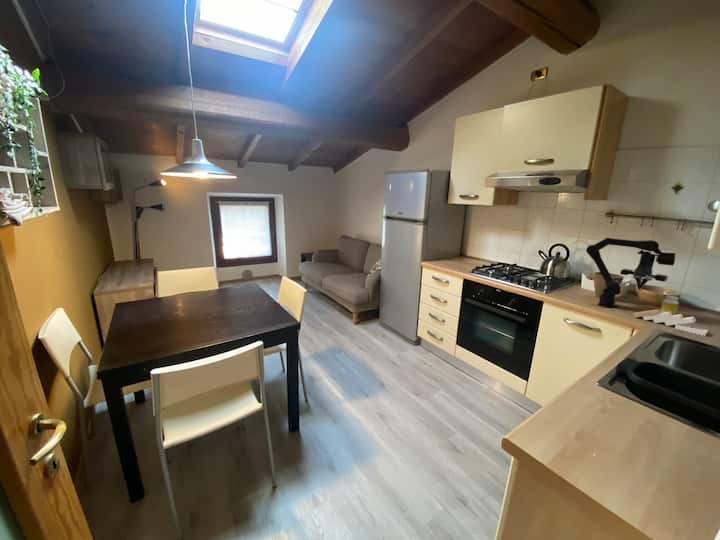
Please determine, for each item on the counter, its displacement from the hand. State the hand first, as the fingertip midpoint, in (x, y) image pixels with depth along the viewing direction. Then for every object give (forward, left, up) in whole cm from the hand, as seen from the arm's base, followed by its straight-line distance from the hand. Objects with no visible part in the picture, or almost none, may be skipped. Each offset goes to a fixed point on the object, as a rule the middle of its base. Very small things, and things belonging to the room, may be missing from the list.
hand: (639, 289), depth 166 cm
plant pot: (-19, +14, -13) cm, 27 cm away
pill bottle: (+12, +9, -13) cm, 20 cm away
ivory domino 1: (+8, -12, -12) cm, 19 cm away
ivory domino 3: (+16, -12, -12) cm, 23 cm away
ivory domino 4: (+20, -12, -12) cm, 26 cm away
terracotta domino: (+3, -12, -12) cm, 18 cm away
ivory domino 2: (+12, -12, -12) cm, 21 cm away
